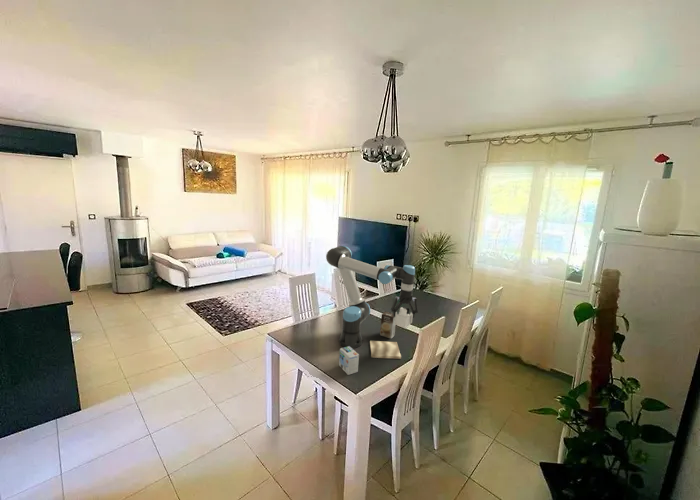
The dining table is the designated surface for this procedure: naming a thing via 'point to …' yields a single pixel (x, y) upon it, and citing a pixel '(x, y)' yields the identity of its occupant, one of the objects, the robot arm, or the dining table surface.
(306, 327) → the dining table surface
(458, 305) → the dining table surface
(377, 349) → the birch board
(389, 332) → the coffee box
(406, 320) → the medicine bottle
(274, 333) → the dining table surface
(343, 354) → the light bulb box
